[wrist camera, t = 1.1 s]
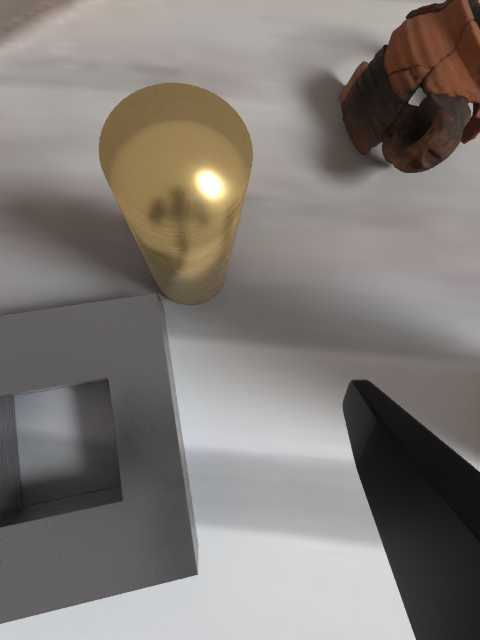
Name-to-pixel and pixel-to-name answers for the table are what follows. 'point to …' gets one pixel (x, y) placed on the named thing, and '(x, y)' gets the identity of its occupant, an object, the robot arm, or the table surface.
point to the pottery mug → (407, 76)
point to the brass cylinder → (179, 183)
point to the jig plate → (133, 457)
